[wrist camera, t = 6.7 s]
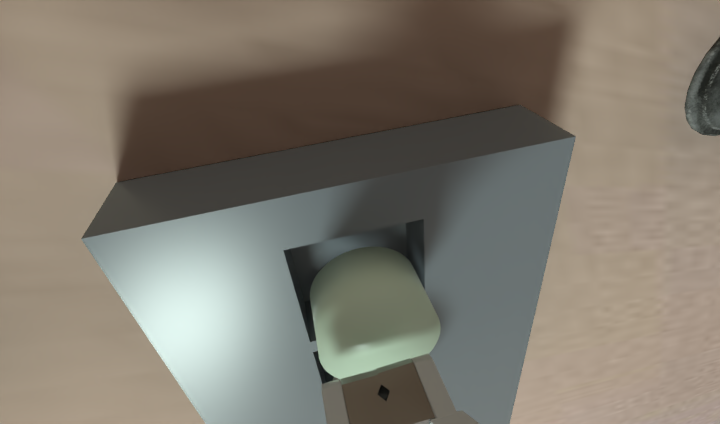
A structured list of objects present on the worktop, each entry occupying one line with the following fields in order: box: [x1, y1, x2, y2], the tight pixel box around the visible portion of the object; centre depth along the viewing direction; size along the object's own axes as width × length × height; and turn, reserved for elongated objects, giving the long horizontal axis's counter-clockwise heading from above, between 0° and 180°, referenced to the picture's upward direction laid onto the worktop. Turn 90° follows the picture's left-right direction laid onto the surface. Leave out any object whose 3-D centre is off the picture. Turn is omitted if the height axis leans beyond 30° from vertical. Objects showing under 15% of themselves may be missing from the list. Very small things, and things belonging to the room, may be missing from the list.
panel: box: [82, 105, 576, 424], centre depth 17 cm, size 14×18×3 cm
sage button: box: [310, 247, 441, 379], centre depth 12 cm, size 4×4×2 cm
